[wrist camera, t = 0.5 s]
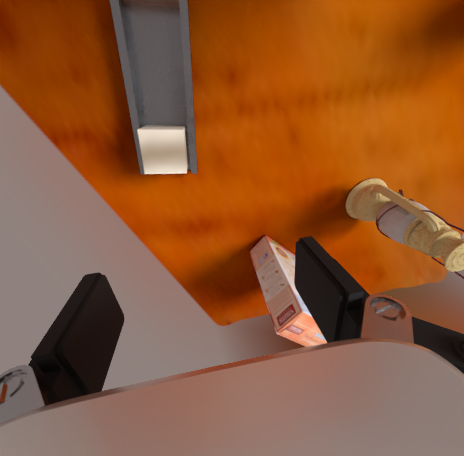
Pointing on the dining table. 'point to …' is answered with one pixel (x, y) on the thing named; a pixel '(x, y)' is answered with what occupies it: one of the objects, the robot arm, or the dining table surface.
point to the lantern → (407, 222)
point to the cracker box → (284, 293)
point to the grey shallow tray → (157, 66)
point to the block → (163, 149)
